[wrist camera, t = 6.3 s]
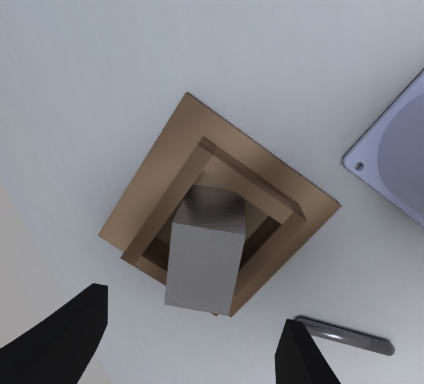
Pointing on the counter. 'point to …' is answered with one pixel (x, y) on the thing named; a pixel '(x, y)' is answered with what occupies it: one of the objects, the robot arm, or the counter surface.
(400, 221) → the counter surface
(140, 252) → the well
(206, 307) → the grey tall block
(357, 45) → the counter surface
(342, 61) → the counter surface
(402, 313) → the counter surface
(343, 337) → the hook
